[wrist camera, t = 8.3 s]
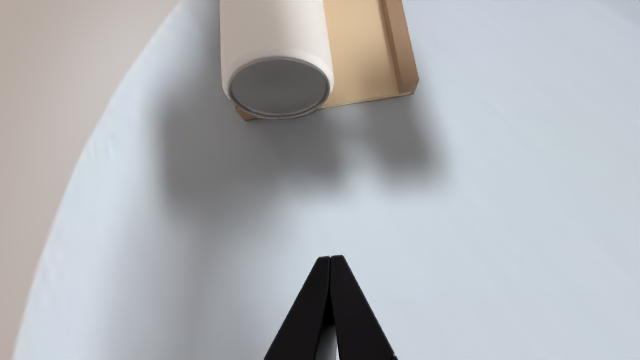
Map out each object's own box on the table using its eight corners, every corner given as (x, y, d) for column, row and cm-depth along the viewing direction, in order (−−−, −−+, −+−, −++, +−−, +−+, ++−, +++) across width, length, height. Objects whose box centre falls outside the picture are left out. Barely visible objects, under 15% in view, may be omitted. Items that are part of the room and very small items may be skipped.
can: (220, 117, 16) (217, -23, 19) (312, 125, 18) (297, 0, 21) (223, 40, 10) (219, -144, 13) (356, 67, 13) (328, -92, 16)
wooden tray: (413, 93, 17) (418, 80, 15) (245, 120, 18) (235, 110, 16) (381, -58, 20) (383, -81, 18) (241, -26, 21) (233, -45, 20)
